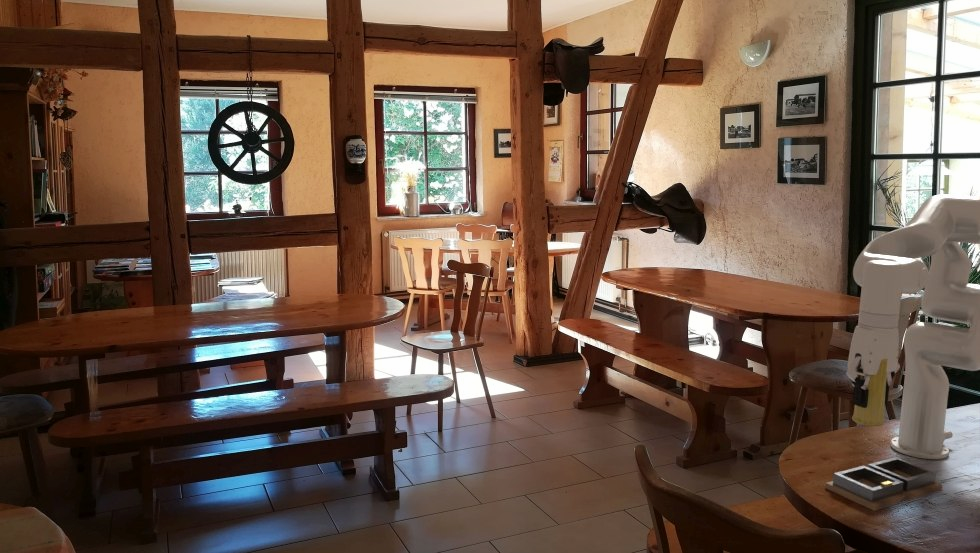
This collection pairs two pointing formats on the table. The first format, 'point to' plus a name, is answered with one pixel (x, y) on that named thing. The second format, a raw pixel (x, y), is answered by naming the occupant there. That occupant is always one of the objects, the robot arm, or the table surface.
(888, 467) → the two-cubby wall shelf
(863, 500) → the board
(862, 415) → the vase
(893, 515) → the table surface
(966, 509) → the table surface
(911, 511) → the table surface
